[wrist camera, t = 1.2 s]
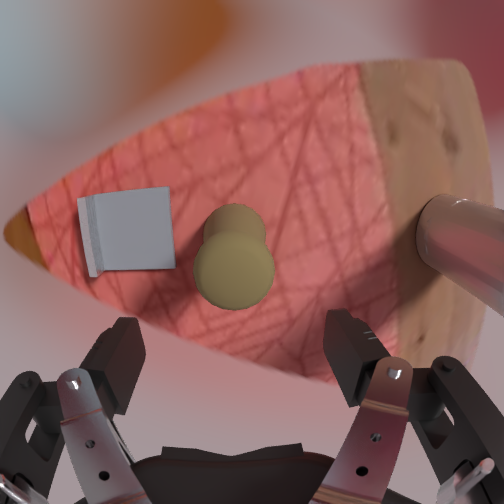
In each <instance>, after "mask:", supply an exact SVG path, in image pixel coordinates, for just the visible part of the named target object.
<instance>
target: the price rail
mask: <svg viewBox="0 0 504 504" xmlns="http://www.w3.org/2000/svg"><path fill="white" fill-rule="evenodd" d="M94 195H95V194H94ZM94 195H88V196H84V197H81V198H77V203H78V212H79V220H80V227H81V234H82V240H83V246H84V251H85V257H86V262H87V266H88V271H89V276H90V277H98V276H99V275H100V274H101V273H103V272H104V271H105V267H104V262H103V256H102V251H101V245H100V238H99V232H98V224H97V217H96V208H95V198H94Z"/></svg>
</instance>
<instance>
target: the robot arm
mask: <svg viewBox="0 0 504 504" xmlns="http://www.w3.org/2000/svg"><path fill="white" fill-rule="evenodd" d="M416 245H417V250H418V253H419V255H420V257H421V259H422V260H423V261H424V262H425V263H426V264H427V265H429V266H430V267H432V268H434V269H435V270H437V271H438V272H440V273H441V274H443V275H444V276H446V277H447V278H449V279H450V280H452V281H453V282H455V283H456V284H458V285H459V286H461V287H462V288H464V289H465V290H467V291H468V292H470V293H471V294H472V295H474V296H475V297H477V298H478V299H480V300H481V301H482V302H484V303H485V304H487V305H488V306H489V307H491V308H492V309H493V310H495V311H496V312H497V313H499V314H500V315H502V316H503V317H504V210H502V209H499V208H496V207H493V206H489V205H486V204H482V203H479V202H475V201H471V200H468V199H464V198H460V197H456V196H452V195H447V194H443V195H438V196H437V197H435V198H433V199H432V200H431V201H430V202H429V203H428V204H427V205H426V207H425V208H424V210H423V212H422V213H421V215H420V218H419V221H418V225H417V230H416ZM323 348H324V353H325V355H326V357H327V360H328V362H329V364H330V366H331V368H332V370H333V373H334V375H335V377H336V379H337V381H338V384H339V386H340V388H341V390H342V392H343V395H344V397H345V399H346V401H347V404H348V406H349V407H354V406H358V405H359V406H360V408H359V410H358V413H357V415H356V417H355V420H354V422H353V424H352V426H351V428H350V431H349V433H348V435H347V437H346V439H345V441H344V443H343V445H342V447H341V449H340V451H339V453H338V455H337V457H336V459H334V458H332V457H329V456H326V455H322V454H318V453H313V452H303V448H302V444H301V443H298V444H290V445H282V446H272V447H265V448H262V449H258V450H255V451H251V452H247V453H243V454H240V455H236V456H227V455H222V454H217V453H212V452H207V451H203V450H199V449H192V448H191V449H190V448H176V447H164V446H163V447H162V453H161V455H158V456H153V457H149V458H145V459H143V460H140V461H138V462H136V461H135V459H134V458H133V456H132V455H131V453H130V451H129V449H128V448H127V446H126V444H125V442H124V440H123V438H122V437H121V435H120V433H119V431H118V429H117V427H116V425H115V423H114V421H113V416H114V414H120V415H125V413H126V410H127V407H128V405H129V402H130V399H131V396H132V393H133V390H134V388H135V385H136V382H137V380H138V377H139V374H140V372H141V369H142V366H143V364H144V361H145V356H146V352H145V346H144V342H143V338H142V334H141V331H140V327H139V323H138V320H137V318H133V317H119V318H118V319H117V321H116V322H115V324H114V325H113V327H112V328H108V329H107V330H106V331H104V332H103V333H102V334H100V336H99V337H98V339H97V340H96V343H94V345H93V347H92V349H90V351H89V353H88V354H87V356H86V357H85V359H84V361H83V362H82V363H81V365H80V367H79V368H73V369H69V370H67V371H65V372H63V373H62V374H61V375H60V376H59V378H58V380H57V381H54V382H42V380H41V378H40V376H39V375H38V374H37V373H36V372H33V371H26V372H23V373H21V374H19V375H18V376H17V377H16V378H15V379H14V380H13V382H12V383H11V385H10V386H9V388H8V389H7V391H6V392H5V394H4V395H3V397H2V399H1V400H0V504H49V503H48V501H47V498H48V495H49V491H50V488H51V484H52V481H53V478H54V474H55V471H56V468H57V465H58V462H59V459H60V456H61V453H62V450H63V448H64V445H65V443H66V447H67V450H68V453H69V456H70V459H71V462H72V465H73V468H74V470H75V473H76V476H77V478H78V481H79V483H80V486H81V488H82V490H83V493H84V495H85V497H84V498H82V499H81V500H79V501H78V502H76V503H74V504H421V503H418V502H416V501H414V500H411V499H409V498H407V497H405V496H403V495H401V494H399V493H397V492H395V491H392V490H390V489H388V488H387V486H388V484H389V481H390V478H391V475H392V473H393V470H394V467H395V464H396V461H397V457H398V454H399V451H400V447H401V444H402V440H403V436H404V433H405V429H406V425H407V422H411V424H412V426H413V428H414V430H415V432H416V434H417V436H418V438H419V440H420V442H421V444H422V446H423V448H424V450H425V452H426V454H427V457H428V459H429V461H430V463H431V465H432V467H433V469H434V472H435V474H436V476H437V478H438V480H439V483H440V485H441V486H440V488H439V490H438V493H437V502H436V504H504V417H503V415H502V414H501V412H500V411H499V410H498V408H497V407H496V406H495V404H494V403H493V402H492V401H491V399H490V398H489V397H488V395H487V394H486V393H485V391H484V390H483V389H482V388H481V387H480V385H479V384H478V383H477V382H476V380H475V379H474V378H473V377H472V376H471V374H470V373H469V372H468V371H467V369H466V368H465V367H464V366H463V365H462V364H461V362H460V361H458V360H457V359H455V358H453V357H450V356H440V357H437V358H436V359H435V360H434V361H433V363H432V365H431V368H412V366H411V364H410V363H409V362H408V361H406V360H404V359H402V358H399V357H393V356H391V355H390V354H389V352H388V351H387V350H386V348H385V347H384V346H383V344H382V343H381V342H380V341H379V339H378V338H376V335H375V334H374V333H373V332H372V330H371V329H370V327H369V326H368V325H367V324H366V323H365V322H363V321H361V320H360V319H358V318H355V319H353V317H352V316H351V315H350V313H349V312H348V311H347V309H345V308H343V309H334V310H328V312H327V315H326V323H325V331H324V339H323ZM445 407H447V409H448V410H449V412H450V413H451V415H452V417H453V419H454V425H453V424H452V422H451V421H450V419H449V417H448V416H447V414H446V413H445V411H444V408H445ZM32 418H33V420H34V421H35V422H36V424H37V425H36V427H35V429H34V431H33V434H32V436H31V438H30V440H29V442H28V443H27V441H26V438H25V433H26V430H27V428H28V426H29V424H30V422H31V419H32Z"/></svg>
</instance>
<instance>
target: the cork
mask: <svg viewBox="0 0 504 504" xmlns="http://www.w3.org/2000/svg"><path fill="white" fill-rule="evenodd" d="M265 239H266V231H265V225H264V223H263V221H262V219H261V217H260V216H259V215H258V214H257V213H256V212H255V211H254V210H253V209H252V208H249V207H247V206H245V205H242V204H228V205H223V206H222V207H220V208H218V209H216V210H215V211H214V212H213V213H212V214H211V215H210V216H209V217H208V219H207V221H206V223H205V225H204V232H203V242H204V243H203V245H202V246H201V247H200V248H199V251H198V253H197V255H196V257H195V260H194V266H193V275H194V279H195V283H196V287H197V289H198V290H199V292H200V293H201V295H202V296H203V297H204V298H205V299H206V300H207V301H208V302H210V303H211V304H212V305H214V306H217V307H219V308H222V309H226V310H241V309H247V308H249V307H251V306H253V305H255V304H257V303H259V302H260V301H261V300H262V299H263V298H264V297H265V296H266V295H267V293H268V291H269V290H270V288H271V286H272V283H273V279H274V274H275V268H274V261H273V257H272V255H271V253H270V251H269V249H268V248H267V246H266V245H265Z"/></svg>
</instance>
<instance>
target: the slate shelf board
mask: <svg viewBox="0 0 504 504" xmlns="http://www.w3.org/2000/svg"><path fill="white" fill-rule="evenodd" d="M94 198H95V208H96V217H97V224H98V232H99V238H100V245H101V251H102V256H103V262H104V267H105V270H136V269H174V268H176V259H175V249H174V240H173V229H172V218H171V205H170V190H169V186H166V187H155V188H144V189H135V190H126V191H117V192H109V193H101V194H95V195H94Z"/></svg>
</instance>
